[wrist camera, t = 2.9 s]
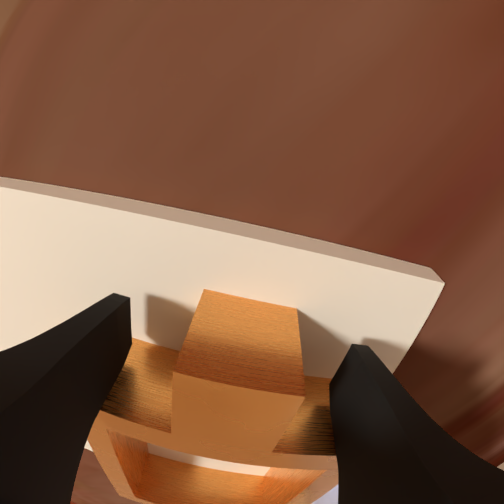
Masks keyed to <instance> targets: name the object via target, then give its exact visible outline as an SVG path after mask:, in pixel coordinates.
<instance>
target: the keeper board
mask: <svg viewBox="0 0 504 504" xmlns="http://www.w3.org/2000/svg"><path fill="white" fill-rule="evenodd" d="M444 285H445V283H444V282H443V281H442V280H441V278H440V277H439V276H438V275H437V274H436V273H435V272H434V271H433V270H432V269H431V268H429V267H425V266H421V265H417V264H414V263H410V262H406V261H402V260H398V259H395V258H391V257H387V256H383V255H379V254H375V253H371V252H367V251H363V250H359V249H355V248H351V247H347V246H343V245H339V244H335V243H331V242H327V241H322V240H318V239H314V238H310V237H306V236H301V235H297V234H293V233H288V232H284V231H280V230H275V229H271V228H267V227H262V226H258V225H253V224H249V223H244V222H240V221H235V220H230V219H226V218H221V217H217V216H212V215H207V214H202V213H198V212H193V211H188V210H183V209H178V208H173V207H168V206H163V205H158V204H153V203H148V202H143V201H138V200H133V199H128V198H122V197H117V196H112V195H106V194H101V193H95V192H90V191H84V190H79V189H73V188H67V187H61V186H55V185H50V184H44V183H37V182H31V181H25V180H19V179H12V178H6V177H0V351H3V350H6V349H8V348H11V347H13V346H16V345H18V344H21V343H23V342H25V341H27V340H30V339H32V338H34V337H36V336H38V335H40V334H42V333H44V332H45V331H47V330H49V329H51V328H53V327H55V326H57V325H59V324H61V323H62V322H64V321H66V320H68V319H69V318H71V317H73V316H74V315H76V314H78V313H80V312H81V311H83V310H85V309H86V308H88V307H90V306H91V305H93V304H95V303H96V302H98V301H100V300H101V299H103V298H105V297H107V296H108V295H110V294H112V293H117V294H120V295H123V296H127V297H130V304H131V331H132V338H135V339H139V340H142V341H145V342H149V343H152V344H156V345H159V346H163V347H167V348H170V349H174V350H178V351H181V348H182V346H183V343H184V340H185V337H186V335H187V332H188V329H189V327H190V324H191V321H192V319H193V316H194V314H195V311H196V308H197V306H198V303H199V300H200V298H201V295H202V293H203V290H204V289H207V290H212V291H216V292H220V293H225V294H229V295H234V296H239V297H243V298H248V299H253V300H257V301H262V302H267V303H272V304H277V305H282V306H287V307H292V308H297V315H298V324H299V333H300V342H301V352H302V362H303V372H304V375H305V376H313V377H321V378H330V379H332V378H333V377H334V375H335V373H336V371H337V370H338V368H339V366H340V364H341V363H342V361H343V359H344V357H345V356H346V354H347V352H348V350H349V348H350V346H351V344H359V345H367V346H369V347H370V348H371V349H372V350H373V352H374V353H375V354H376V355H377V356H378V357H379V358H380V360H381V361H382V362H383V363H384V364H385V366H386V367H387V368H388V369H389V371H390V372H391V373H392V374H393V372H394V371H395V369H396V368H397V367H398V365H399V364H400V362H401V360H402V359H403V357H404V356H405V354H406V353H407V351H408V350H409V348H410V346H411V345H412V343H413V341H414V340H415V338H416V337H417V335H418V333H419V331H420V330H421V328H422V326H423V325H424V323H425V321H426V319H427V317H428V316H429V314H430V312H431V310H432V308H433V306H434V304H435V303H436V301H437V299H438V297H439V295H440V293H441V291H442V289H443V287H444ZM147 445H148V451H149V453H150V454H154V455H157V456H161V457H164V458H168V459H172V460H175V461H179V462H183V463H188V464H192V465H197V466H201V467H206V468H211V469H217V470H223V471H229V472H235V473H242V474H250V475H259V476H264V475H265V474H266V473H267V472H268V470H269V469H270V468H271V467H264V466H255V465H247V464H240V463H233V462H227V461H221V460H216V459H210V458H205V457H201V456H196V455H192V454H187V453H183V452H179V451H175V450H171V449H168V448H164V447H160V446H157V445H154V444H150V443H147ZM84 448H86V449H88V450H91V451H93V450H92V448H91V446H90V444H89V442H88V440H87V441H86V444H85V447H84Z"/></svg>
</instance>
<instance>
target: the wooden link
mask: <svg viewBox="0 0 504 504" xmlns="http://www.w3.org/2000/svg"><path fill="white" fill-rule="evenodd" d="M331 380H332V379H330V378H321V377H313V376H305V375H304V372H303V362H302V352H301V342H300V333H299V324H298V315H297V308H292V307H287V306H282V305H277V304H272V303H267V302H262V301H257V300H253V299H248V298H243V297H239V296H234V295H229V294H225V293H220V292H216V291H212V290H207V289H204V290H203V293H202V295H201V298H200V300H199V303H198V306H197V308H196V311H195V314H194V316H193V319H192V321H191V324H190V327H189V329H188V332H187V335H186V337H185V340H184V343H183V346H182V348H181V351H178V350H174V349H170V348H167V347H163V346H159V345H156V344H152V343H149V342H145V341H142V340H139V339H135V338H132V346H131V348H130V351H129V354H128V356H127V359H126V361H125V364H124V366H123V368H122V370H121V372H120V374H119V376H118V378H117V380H116V382H115V383H114V385H113V387H112V389H111V391H110V393H109V394H108V396H107V398H106V400H105V402H104V404H103V406H102V407H101V409H100V411H99V413H98V415H97V417H96V419H95V421H94V423H93V425H92V428H91V430H90V433H89V436H88V438H87V440H88V442H89V444H90V446H91V448H92V450H93V452H94V454H95V455H96V457H97V459H98V461H99V463H100V465H101V466H102V468H103V470H104V472H105V473H106V475H107V477H108V478H109V480H110V482H111V483H112V485H113V486H114V488H115V489H116V491H117V493H118V494H119V495H120V496H122V497H125V498H128V499H131V500H134V501H137V502H140V503H143V504H311V503H313V502H314V501H316V500H317V499H319V498H320V497H322V496H323V495H324V494H326V493H327V492H328V491H330V490H331V489H333V488H334V487H335V486H336V485H338V464H337V457H336V450H335V443H334V436H333V429H332V422H331V416H330V403H329V383H330V382H331ZM147 443H150V444H154V445H157V446H160V447H164V448H168V449H171V450H175V451H179V452H183V453H187V454H192V455H196V456H201V457H205V458H210V459H216V460H221V461H227V462H233V463H240V464H247V465H255V466H264V467H271V468H270V469H269V470H268V472H267V473H266V474H265V475H264V476H259V475H250V474H242V473H235V472H229V471H223V470H217V469H211V468H206V467H201V466H197V465H192V464H188V463H183V462H179V461H175V460H172V459H168V458H164V457H161V456H157V455H154V454H150V453H149V451H148V445H147Z"/></svg>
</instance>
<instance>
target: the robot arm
mask: <svg viewBox="0 0 504 504" xmlns="http://www.w3.org/2000/svg"><path fill="white" fill-rule="evenodd" d="M131 346H132V331H131V304H130V297H127V296H123V295H120V294H117V293H112V294H110V295H108V296H107V297H105V298H103V299H101V300H100V301H98V302H96V303H95V304H93V305H91V306H90V307H88V308H86V309H85V310H83V311H81V312H80V313H78V314H76V315H74V316H73V317H71V318H69V319H68V320H66V321H64V322H62V323H61V324H59V325H57V326H55V327H53V328H51V329H49V330H47V331H45V332H44V333H42V334H40V335H38V336H36V337H34V338H32V339H30V340H27V341H25V342H23V343H21V344H18V345H16V346H13V347H11V348H8V349H6V350H3V351H0V504H70V501H71V495H72V491H73V486H74V482H75V478H76V474H77V470H78V467H79V463H80V460H81V456H82V453H83V450H84V447H85V444H86V441H87V438H88V436H89V433H90V430H91V428H92V425H93V423H94V421H95V419H96V417H97V415H98V413H99V411H100V409H101V407H102V406H103V404H104V402H105V400H106V398H107V396H108V394H109V393H110V391H111V389H112V387H113V385H114V383H115V382H116V380H117V378H118V376H119V374H120V372H121V370H122V368H123V366H124V364H125V361H126V359H127V356H128V354H129V351H130V348H131ZM329 403H330V416H331V422H332V429H333V436H334V443H335V450H336V457H337V464H338V485H336V486H335V487H334V488H333V489H331V490H330V491H328V492H327V493H326V494H324V495H323V496H322V497H320V498H319V499H317V500H316V501H314V502H313V503H311V504H504V471H503V470H501V469H499V468H497V467H495V466H493V465H491V464H490V463H488V462H486V461H484V460H483V459H481V458H479V457H478V456H476V455H475V454H473V453H472V452H470V451H469V450H468V449H466V448H465V447H464V446H462V445H461V444H460V443H458V442H457V441H456V440H455V439H453V438H452V437H451V436H450V435H449V434H447V433H446V432H445V431H444V430H443V429H442V428H441V427H440V426H439V425H438V424H437V423H436V422H434V421H433V420H432V419H431V418H430V417H429V416H428V414H427V413H426V412H425V411H424V410H423V409H422V408H421V407H420V406H419V405H418V404H417V403H416V402H415V400H414V399H413V398H412V397H411V396H410V395H409V393H408V392H407V391H406V390H405V389H404V388H403V386H402V385H401V384H400V383H399V382H398V380H397V379H396V378H395V377H394V375H393V374H392V373H391V372H390V371H389V369H388V368H387V367H386V366H385V364H384V363H383V362H382V361H381V360H380V358H379V357H378V356H377V355H376V354H375V353H374V352H373V350H372V349H371V348H370V347H369V346H367V345H359V344H351V346H350V348H349V350H348V352H347V354H346V356H345V357H344V359H343V361H342V363H341V364H340V366H339V368H338V370H337V371H336V373H335V375H334V377H333V378H332V380H331V382H330V383H329Z"/></svg>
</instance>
